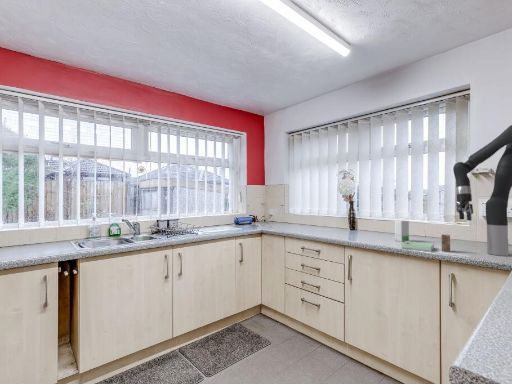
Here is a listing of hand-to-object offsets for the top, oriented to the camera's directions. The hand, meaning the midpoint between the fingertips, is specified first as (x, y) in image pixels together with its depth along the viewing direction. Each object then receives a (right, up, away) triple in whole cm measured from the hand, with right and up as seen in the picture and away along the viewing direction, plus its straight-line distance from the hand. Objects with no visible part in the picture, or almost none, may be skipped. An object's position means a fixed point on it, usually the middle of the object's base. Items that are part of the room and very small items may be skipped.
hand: (465, 219), depth 167 cm
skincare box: (-18, -20, +40) cm, 48 cm away
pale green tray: (-23, -20, +10) cm, 32 cm away
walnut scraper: (-12, -19, +1) cm, 23 cm away
